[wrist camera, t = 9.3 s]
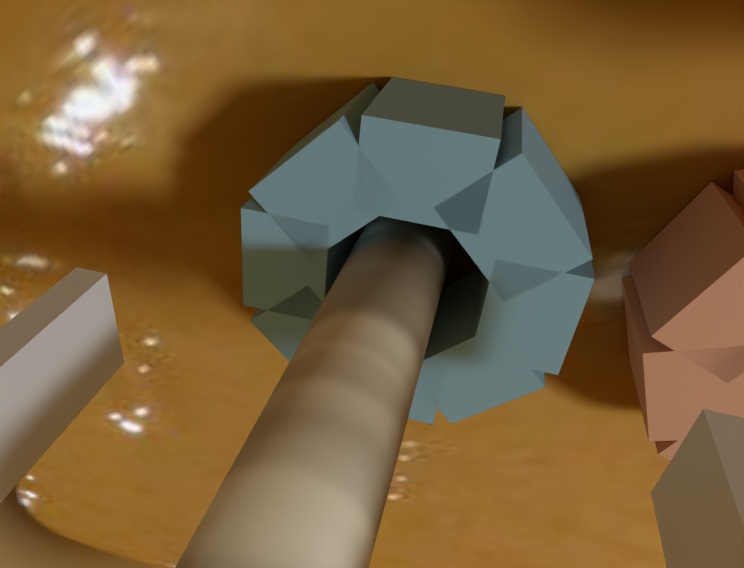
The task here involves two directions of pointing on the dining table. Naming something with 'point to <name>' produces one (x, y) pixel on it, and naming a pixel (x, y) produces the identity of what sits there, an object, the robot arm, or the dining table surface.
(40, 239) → the dining table surface
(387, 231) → the wooden dowel handle
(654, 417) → the bead terracotta
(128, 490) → the dining table surface
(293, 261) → the bead
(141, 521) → the dining table surface
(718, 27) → the dining table surface
